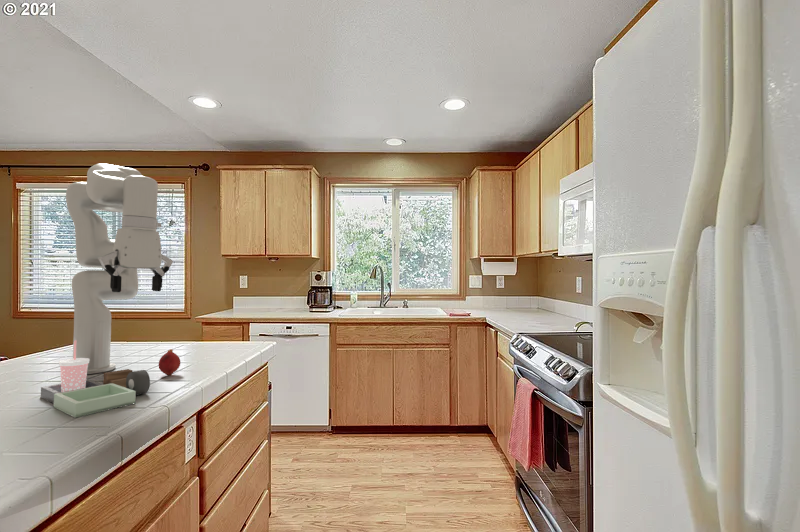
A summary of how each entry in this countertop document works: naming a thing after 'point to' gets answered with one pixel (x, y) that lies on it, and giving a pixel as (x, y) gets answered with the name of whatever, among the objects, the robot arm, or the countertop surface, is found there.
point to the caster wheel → (138, 381)
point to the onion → (169, 363)
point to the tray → (93, 399)
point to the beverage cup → (73, 372)
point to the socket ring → (49, 391)
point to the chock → (116, 377)
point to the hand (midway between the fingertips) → (137, 291)
